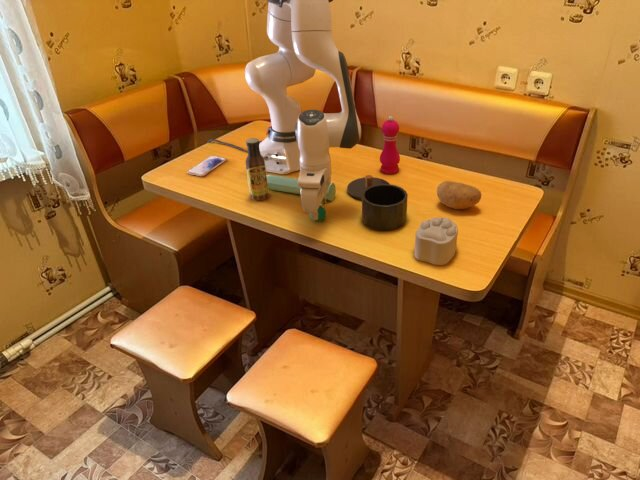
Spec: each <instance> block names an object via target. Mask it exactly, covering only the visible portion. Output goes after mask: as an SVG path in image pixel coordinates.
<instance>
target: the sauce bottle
mask: <svg viewBox="0 0 640 480" xmlns="http://www.w3.org/2000/svg"><path fill="white" fill-rule="evenodd" d="M259 141H260V139H258V138H257V137H250V138H248V139H246V140H245V145H246V148H247V151H248V153H247V156H246V159H245V170H246V178H247V184H248V185H247V186H248V192H249V197H250V199H252V200H254V201H263V200H266V199H268V197H269V189H268V184H267V171H266V166H265V161H264V158H263V157H262V155H261V154H260V149H259V144H260V143H259Z"/></svg>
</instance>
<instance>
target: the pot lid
mask: <svg viewBox="0 0 640 480" xmlns="http://www.w3.org/2000/svg"><path fill="white" fill-rule="evenodd" d="M378 184H390V182H388V181H387V180H385V179H383V178H379V177H373V175H371V174H367V175H365V177H359V178H356V179H353V180H352V181H350V182H349V183H348V184H347V187H346V191H347V193H348V194H349V195H350V196H351V197H354V198H355V199H358V200H362V193H363V191H364V190H365V189H366V188H368V187H370V186H373V185H378Z"/></svg>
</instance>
